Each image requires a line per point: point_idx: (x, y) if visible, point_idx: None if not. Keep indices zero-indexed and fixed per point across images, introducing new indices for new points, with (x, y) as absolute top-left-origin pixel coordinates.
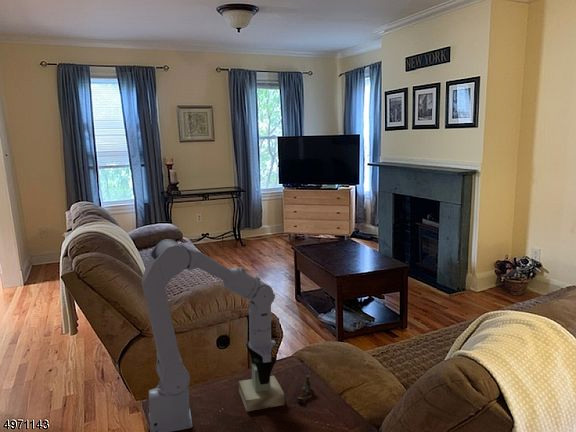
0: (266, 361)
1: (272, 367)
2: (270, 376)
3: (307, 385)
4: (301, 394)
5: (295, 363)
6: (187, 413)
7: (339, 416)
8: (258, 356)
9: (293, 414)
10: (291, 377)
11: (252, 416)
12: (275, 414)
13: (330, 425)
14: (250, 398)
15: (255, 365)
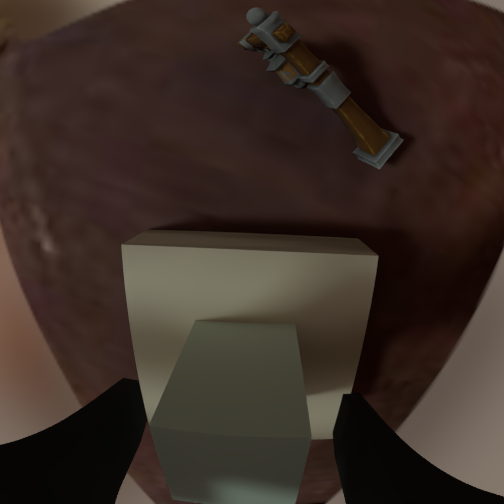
0: None
1: (451, 477)
2: (127, 272)
3: (319, 61)
4: (362, 129)
5: (5, 77)
6: None
7: (496, 56)
8: (97, 471)
9: (441, 225)
10: (96, 112)
11: (370, 388)
12: (406, 303)
13: None
14: (331, 423)
15: (209, 494)
